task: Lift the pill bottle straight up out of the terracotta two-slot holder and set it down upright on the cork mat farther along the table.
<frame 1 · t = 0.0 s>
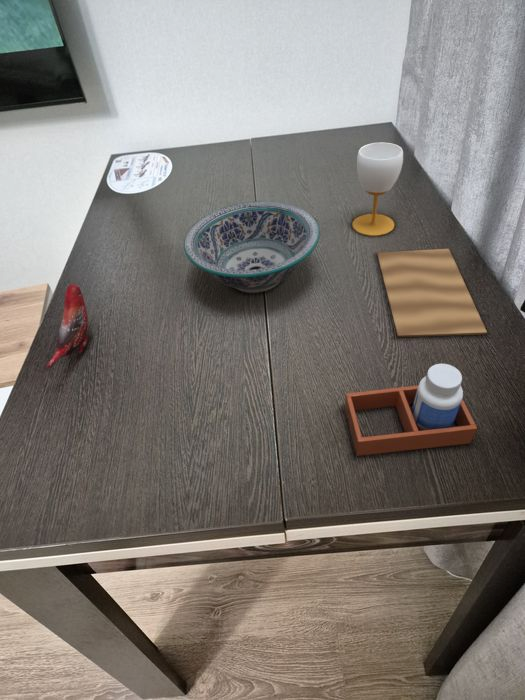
pill bottle: (430, 422, 60), resting in holder
mat: (425, 290, 79), on the table
cup: (373, 225, 96), on the table
decorative bird figurine: (81, 355, 76), on the table
bowl: (256, 277, 87), on the table
holder: (404, 425, 60), on the table
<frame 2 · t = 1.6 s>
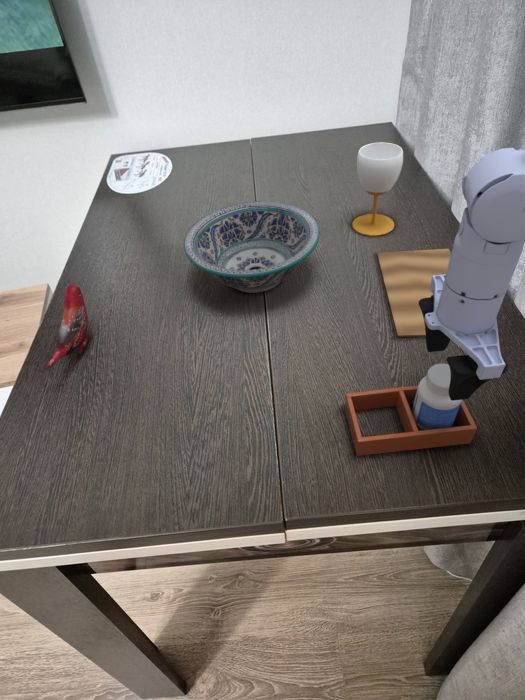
hand: (446, 372, 53), 10 cm above the table, tool pointing down, fingers open, 7 cm apart
nothing on the table moved.
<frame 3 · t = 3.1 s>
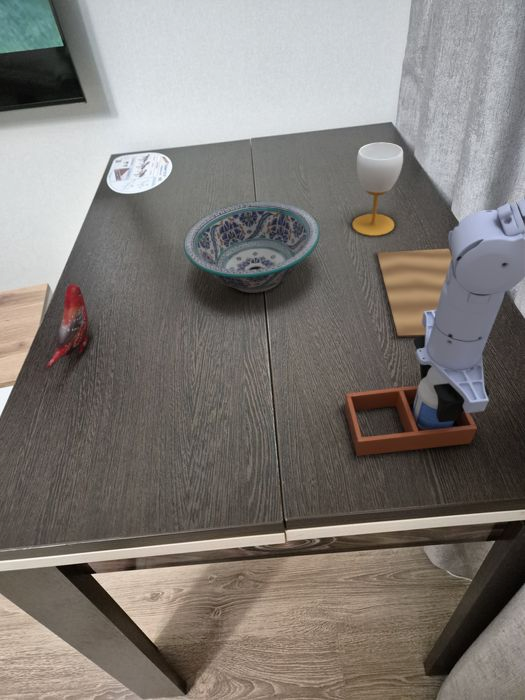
hand: (437, 400, 57), 5 cm above the table, tool pointing down, fingers closed on pill bottle, 5 cm apart
pill bottle: (430, 423, 60), resting in holder, touching gripper
everything else where it was.
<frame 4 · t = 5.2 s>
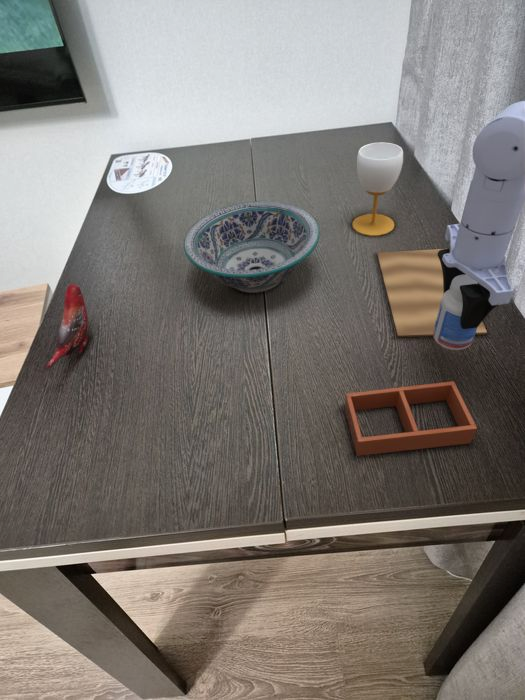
hand: (460, 311, 60), 10 cm above the table, tool pointing down, fingers closed on pill bottle, 5 cm apart
pill bottle: (451, 338, 63), point 5 cm above the table, touching gripper
everything else where it was.
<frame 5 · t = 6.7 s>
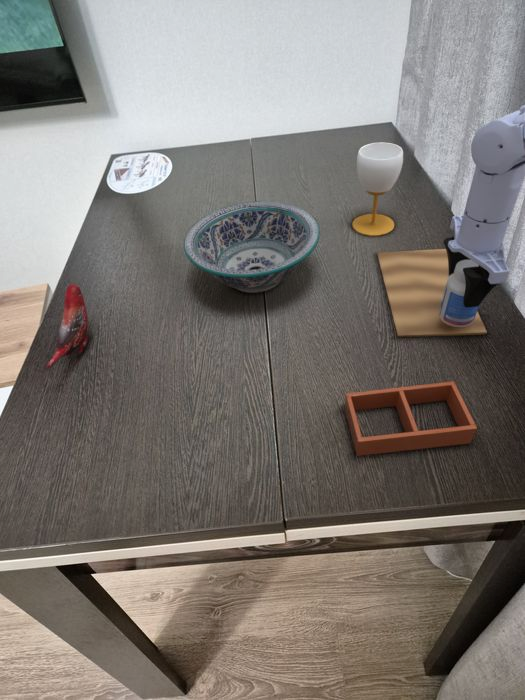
hand: (463, 293, 68), 7 cm above the table, tool pointing down, fingers closed on pill bottle, 5 cm apart
pill bottle: (455, 317, 71), point 2 cm above the table, touching gripper
everything else where it was.
when the fingers open (5 cm above the table, at t = 7.7 s): pill bottle stays where it is, resting on mat.
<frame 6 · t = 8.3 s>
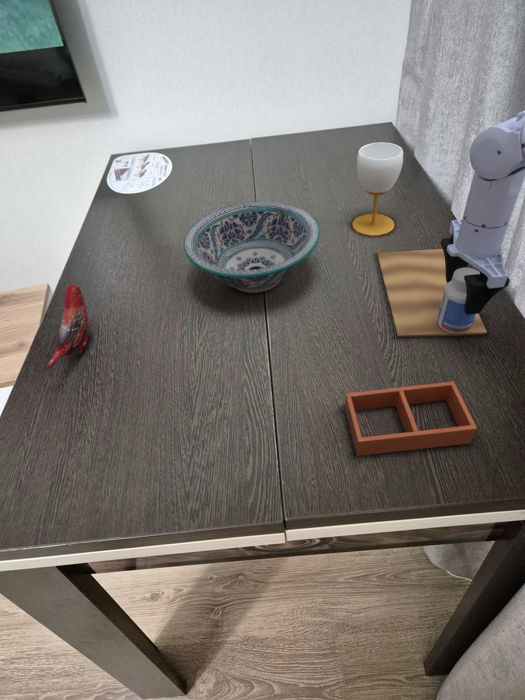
hand: (462, 296, 68), 6 cm above the table, tool pointing down, fingers open, 7 cm apart
pill bottle: (453, 324, 72), resting on mat
everything else where it was.
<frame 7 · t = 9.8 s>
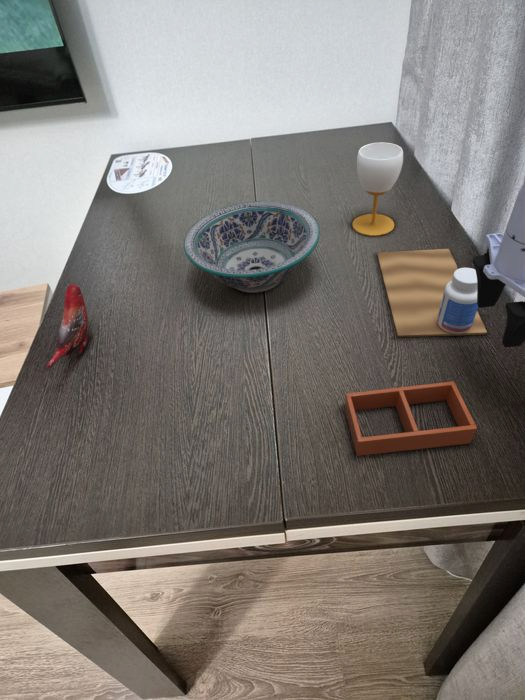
hand: (497, 324, 57), 10 cm above the table, tool pointing down, fingers open, 7 cm apart
nothing on the table moved.
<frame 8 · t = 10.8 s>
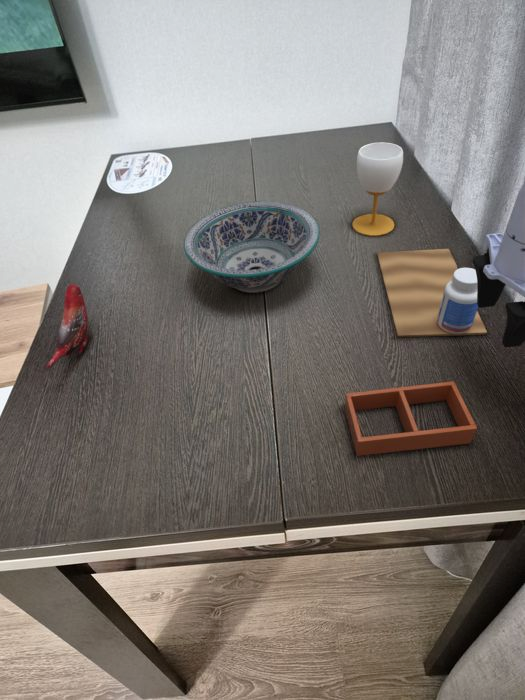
hand: (497, 324, 57), 10 cm above the table, tool pointing down, fingers open, 7 cm apart
nothing on the table moved.
at the end: pill bottle inside the target area on the mat (0.1 cm from its centre), point 0.3 cm above the mat's base; pill bottle tilted 0°; the gripper is holding nothing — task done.
